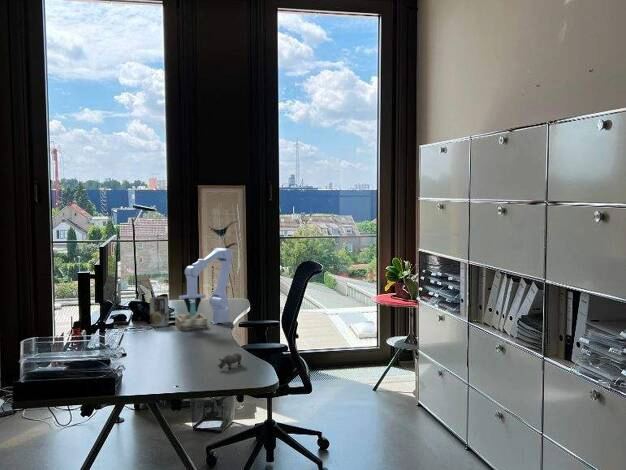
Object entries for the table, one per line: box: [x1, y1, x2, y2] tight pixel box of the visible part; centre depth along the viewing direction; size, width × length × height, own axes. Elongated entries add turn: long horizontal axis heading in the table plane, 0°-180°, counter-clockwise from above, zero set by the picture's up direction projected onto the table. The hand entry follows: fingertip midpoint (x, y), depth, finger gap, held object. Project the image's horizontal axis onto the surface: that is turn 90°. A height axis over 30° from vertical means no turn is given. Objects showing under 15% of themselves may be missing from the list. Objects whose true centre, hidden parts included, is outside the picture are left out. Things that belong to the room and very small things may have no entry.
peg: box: [188, 301, 197, 316], centre depth 326 cm, size 4×4×7 cm
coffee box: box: [149, 296, 170, 327], centre depth 335 cm, size 9×6×16 cm
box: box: [174, 313, 208, 332], centre depth 332 cm, size 15×15×6 cm
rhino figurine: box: [217, 352, 243, 370], centre depth 254 cm, size 4×14×6 cm, turn 138°
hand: (192, 311), depth 326 cm, fingers closed on peg, 4 cm apart
